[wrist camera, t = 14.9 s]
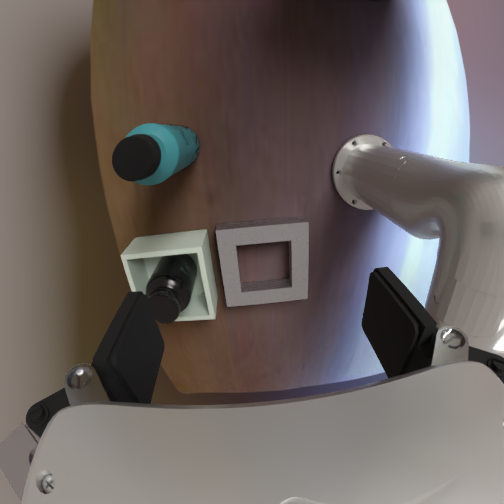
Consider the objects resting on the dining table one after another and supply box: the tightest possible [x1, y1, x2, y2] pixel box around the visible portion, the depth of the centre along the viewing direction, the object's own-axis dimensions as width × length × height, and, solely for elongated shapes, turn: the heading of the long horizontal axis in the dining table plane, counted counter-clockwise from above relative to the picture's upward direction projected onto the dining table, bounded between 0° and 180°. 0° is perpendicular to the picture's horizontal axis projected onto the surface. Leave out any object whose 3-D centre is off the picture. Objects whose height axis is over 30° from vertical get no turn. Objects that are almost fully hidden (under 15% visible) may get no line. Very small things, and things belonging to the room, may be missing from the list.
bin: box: [121, 229, 218, 322], centre depth 43 cm, size 13×13×7 cm
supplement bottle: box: [146, 254, 197, 324], centre depth 40 cm, size 7×7×12 cm
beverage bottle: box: [112, 123, 200, 185], centre depth 28 cm, size 6×7×20 cm
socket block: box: [216, 216, 309, 307], centre depth 45 cm, size 14×14×3 cm
